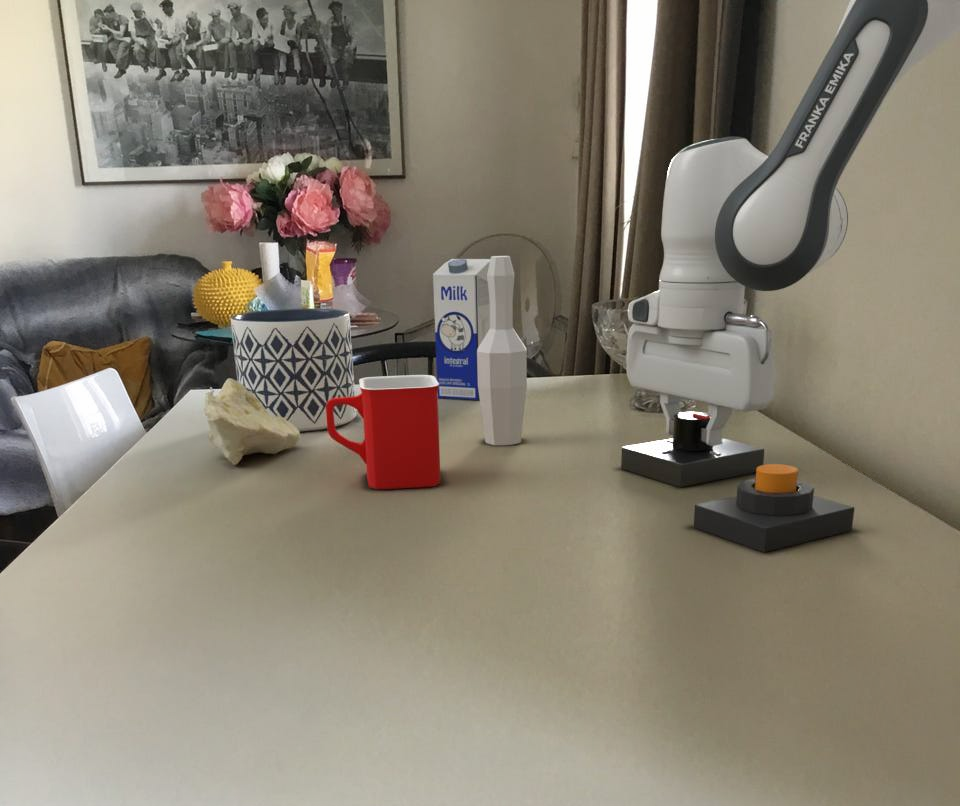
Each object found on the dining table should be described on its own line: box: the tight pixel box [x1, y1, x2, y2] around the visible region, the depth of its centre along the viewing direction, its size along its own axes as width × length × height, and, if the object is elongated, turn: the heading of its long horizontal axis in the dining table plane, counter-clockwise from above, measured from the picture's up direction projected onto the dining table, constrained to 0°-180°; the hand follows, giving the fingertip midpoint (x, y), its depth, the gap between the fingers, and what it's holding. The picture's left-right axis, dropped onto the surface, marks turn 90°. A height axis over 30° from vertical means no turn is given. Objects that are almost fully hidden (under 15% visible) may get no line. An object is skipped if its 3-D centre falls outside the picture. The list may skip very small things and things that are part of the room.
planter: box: [230, 308, 357, 432], centre depth 145 cm, size 16×16×14 cm
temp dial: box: [672, 411, 713, 452], centre depth 116 cm, size 4×4×4 cm
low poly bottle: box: [477, 255, 528, 446], centre depth 129 cm, size 6×6×22 cm
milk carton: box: [431, 258, 491, 401], centre depth 160 cm, size 7×7×20 cm
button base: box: [693, 477, 855, 553], centre depth 96 cm, size 11×9×4 cm
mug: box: [326, 374, 442, 490], centre depth 114 cm, size 12×8×11 cm
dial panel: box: [620, 437, 765, 488], centre depth 117 cm, size 12×10×3 cm
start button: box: [755, 463, 799, 493], centre depth 95 cm, size 4×4×2 cm
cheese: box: [203, 377, 301, 466], centre depth 126 cm, size 15×7×15 cm
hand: (692, 439), depth 116 cm, fingers closed on temp dial, 4 cm apart
